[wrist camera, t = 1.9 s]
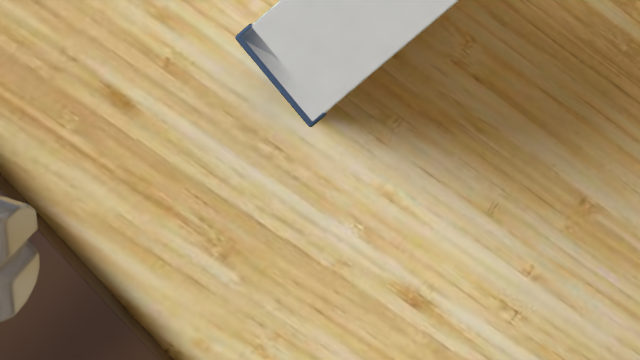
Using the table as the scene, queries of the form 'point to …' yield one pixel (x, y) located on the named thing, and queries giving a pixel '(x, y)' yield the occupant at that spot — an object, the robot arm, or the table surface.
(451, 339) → the table surface
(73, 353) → the dark brown board
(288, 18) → the book
